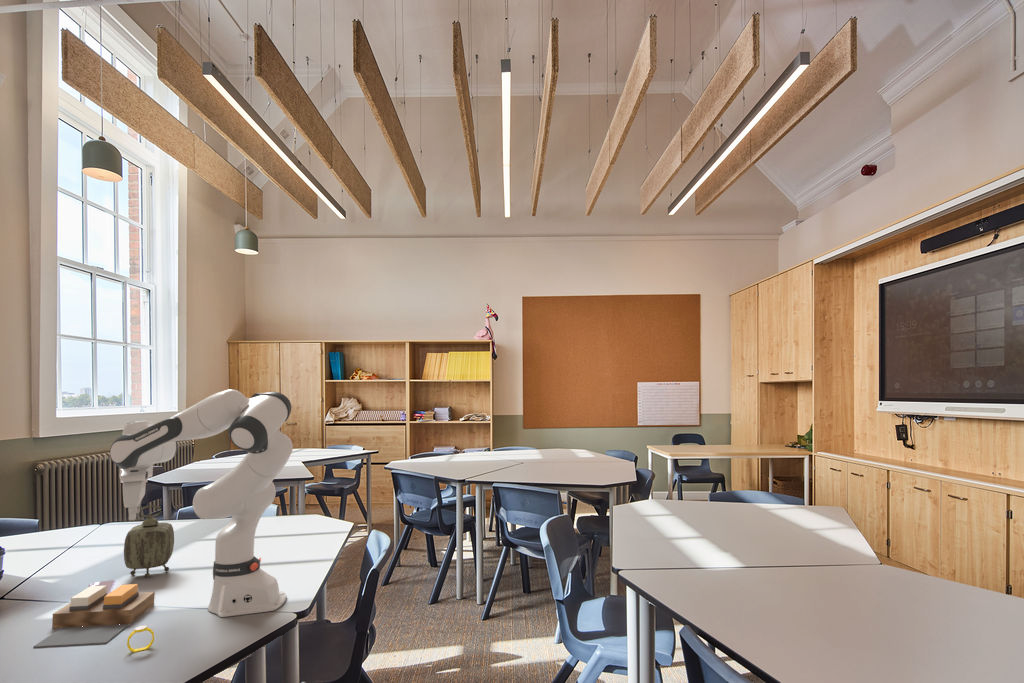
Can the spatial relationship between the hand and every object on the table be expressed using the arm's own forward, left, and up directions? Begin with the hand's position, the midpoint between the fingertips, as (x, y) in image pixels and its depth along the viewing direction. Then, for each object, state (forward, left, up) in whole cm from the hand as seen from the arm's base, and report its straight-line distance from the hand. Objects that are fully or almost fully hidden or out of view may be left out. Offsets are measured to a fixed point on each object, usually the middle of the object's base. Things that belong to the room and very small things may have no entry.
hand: (134, 516), depth 182 cm
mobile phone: (+19, -18, -29) cm, 38 cm away
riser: (+4, +6, -28) cm, 29 cm away
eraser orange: (0, +6, -24) cm, 25 cm away
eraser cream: (+9, +6, -24) cm, 26 cm away
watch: (-17, +30, -28) cm, 45 cm away
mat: (+3, +20, -28) cm, 34 cm away
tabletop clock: (+9, -30, -28) cm, 42 cm away
